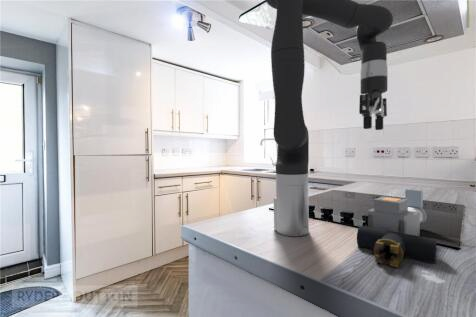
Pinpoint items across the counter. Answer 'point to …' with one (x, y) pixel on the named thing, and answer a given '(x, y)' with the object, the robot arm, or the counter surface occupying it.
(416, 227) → the housing
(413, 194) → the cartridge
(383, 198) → the plunger
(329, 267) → the counter surface
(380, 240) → the pipe connector
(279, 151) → the robot arm
